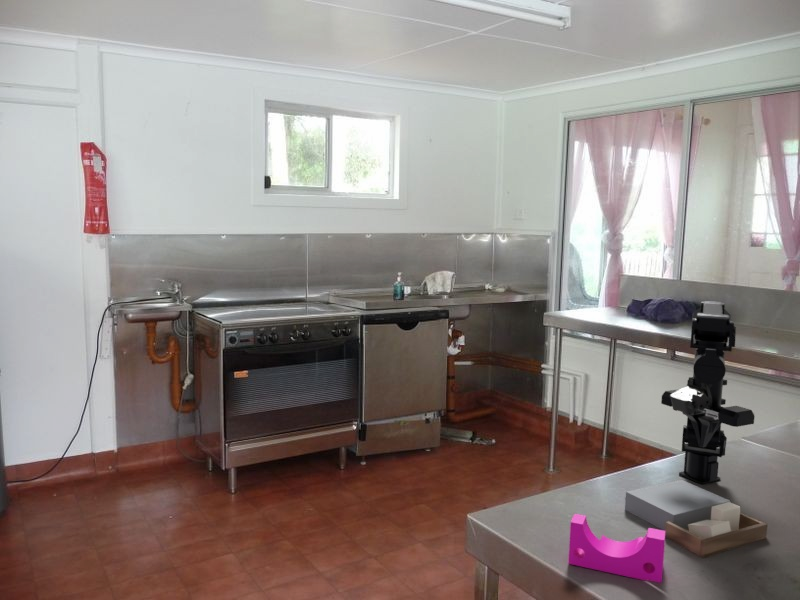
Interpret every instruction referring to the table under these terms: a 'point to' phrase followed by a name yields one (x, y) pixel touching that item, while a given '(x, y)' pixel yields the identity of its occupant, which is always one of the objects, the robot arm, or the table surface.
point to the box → (718, 537)
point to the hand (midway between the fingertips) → (702, 446)
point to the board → (672, 504)
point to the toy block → (617, 552)
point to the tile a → (709, 528)
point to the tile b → (727, 514)
